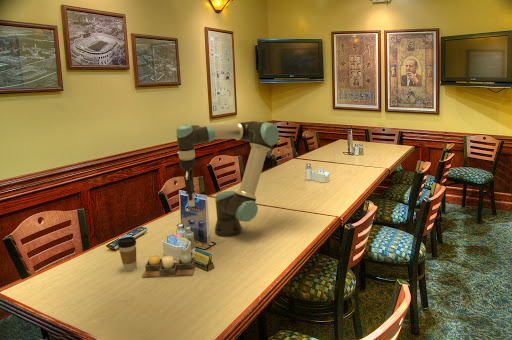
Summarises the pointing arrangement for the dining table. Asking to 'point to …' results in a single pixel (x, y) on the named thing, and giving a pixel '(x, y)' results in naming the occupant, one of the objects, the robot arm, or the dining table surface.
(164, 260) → the beige round cylinder
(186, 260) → the slate button
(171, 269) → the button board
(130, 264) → the coffee cup
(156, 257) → the mustard button
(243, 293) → the dining table surface
